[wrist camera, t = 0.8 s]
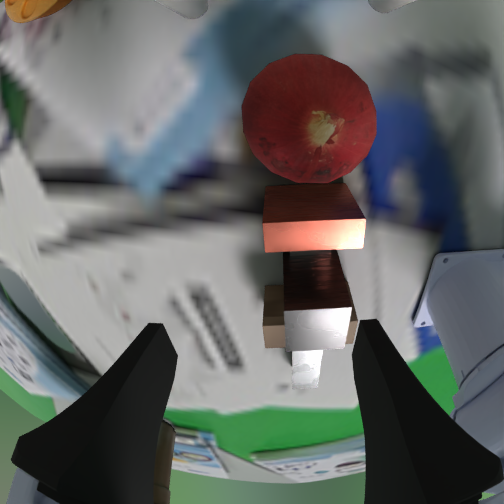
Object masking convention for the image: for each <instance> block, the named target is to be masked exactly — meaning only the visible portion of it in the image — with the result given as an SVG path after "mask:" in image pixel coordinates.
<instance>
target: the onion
mask: <svg viewBox="0 0 504 504" xmlns="http://www.w3.org/2000/svg"><path fill="white" fill-rule="evenodd" d="M242 119H243V132H244V134H245V137H246V139H247V141H248V143H249V146H250V148H251V150H252V153H253V154H254V155H255V156H256V157H257V158H258V159H259V160H260V161H261V162H262V163H263V164H264V165H265V166H266V167H267V168H268V169H269V170H270V171H271V172H273V173H275V174H278V175H280V176H282V177H285V178H287V179H290V180H292V181H294V182H297V183H329V182H331V181H333V180H335V179H337V178H339V177H341V176H344V175H346V174H348V173H350V172H351V171H352V170H353V169H354V168H355V167H356V166H357V165H358V164H359V163H360V162H361V161H362V160H363V159H364V158H365V157H366V156H367V155H368V153H369V150H370V148H371V146H372V143H373V141H374V139H375V136H376V109H375V106H374V103H373V100H372V97H371V94H370V91H369V88H368V86H367V84H366V83H365V82H364V81H363V80H362V79H361V78H360V77H359V76H358V75H357V74H356V73H355V72H354V71H353V70H352V69H351V68H349V67H348V66H347V65H345V64H342V63H340V62H338V61H335V60H333V59H331V58H328V57H326V56H323V55H316V54H293V55H290V56H288V57H285V58H282V59H280V60H277V61H274V62H272V63H269V64H268V65H267V66H266V67H265V68H264V69H263V70H262V71H261V72H260V73H259V74H258V75H257V76H256V77H255V78H254V79H253V80H252V81H251V82H250V85H249V87H248V90H247V93H246V96H245V98H244V101H243V104H242Z"/></svg>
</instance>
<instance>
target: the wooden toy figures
mask: <svg viewBox="0 0 504 504" xmlns="http://www.w3.org/2000/svg"><path fill="white" fill-rule="evenodd" d="M2 1H3V0H0V3H1V2H2ZM71 1H72V0H5V8H6V12H7V15H8V16H9V18H10V19H11V20H13V21H14V22H18V23H25V22H29V21H32V20H35V19H38V18H42V17H45V16H48V15H51V14H53V13H55V12H57V11H59V10H60V9H62V8H63V7H65V6H66V5H67V4H68V3H70V2H71Z"/></svg>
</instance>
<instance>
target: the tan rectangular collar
mask: <svg viewBox="0 0 504 504" xmlns="http://www.w3.org/2000/svg"><path fill="white" fill-rule="evenodd" d="M346 285H347V289H348V293H349V297H350V301H351V305H352V310H351V316H350V322H349V327H348V332H347V337H346V342H345V344H352V343H353V340H354V336H355V332H356V327H357V323H358V319H357V315H356V311H355V307H354V304H353V300H352V296H351V292H350V288H349V285H348V281H347V282H346ZM263 334H264V341H265V348H286V346H285V322H284V285H267V286H265V295H264V311H263Z"/></svg>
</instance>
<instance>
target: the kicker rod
mask: <svg viewBox="0 0 504 504" xmlns="http://www.w3.org/2000/svg"><path fill="white" fill-rule="evenodd" d="M365 222H366V218H365V217H364V215H363V213H362V211H361V209H360V208H359V206H358V204H357V202H356V201H355V199H354V197H353V195H352V194H351V192H350V190H349V188H348V187H347V185H346V183H333V184H304V185H284V186H267V187H266V189H265V201H264V212H263V223H262V224H263V234H264V244H265V253H268V252H283V275H284V322H285V346H286V352H292V389H307V388H317V386H318V380H319V373H320V365H321V358H322V350H329V349H342V348H344V347H345V342H346V337H347V332H348V327H349V322H350V316H351V310H352V305H351V301H350V297H349V293H348V289H347V285H346V282H345V278H344V274H343V271H342V267H341V263H340V260H339V256H338V253H337V250H336V249H351V248H363V241H364V232H365Z"/></svg>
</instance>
